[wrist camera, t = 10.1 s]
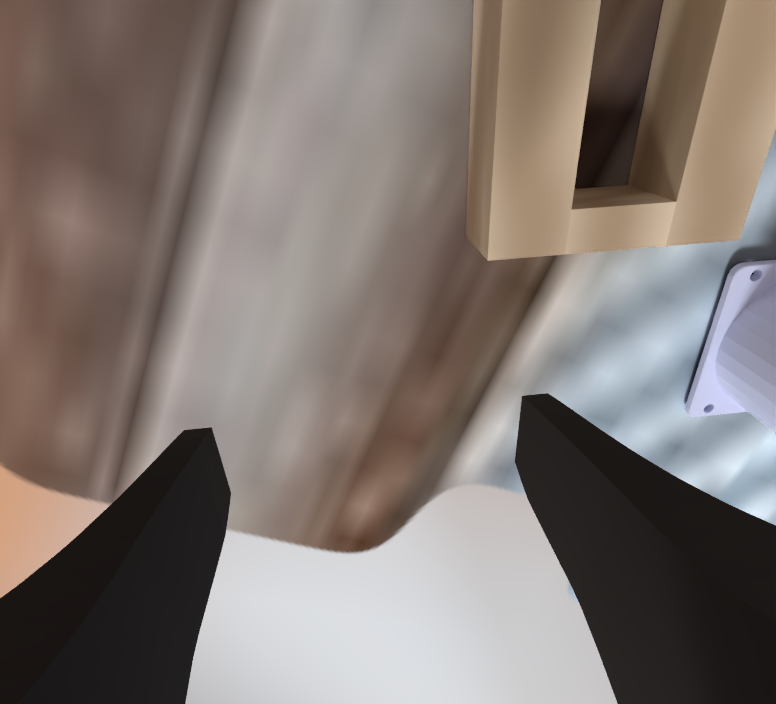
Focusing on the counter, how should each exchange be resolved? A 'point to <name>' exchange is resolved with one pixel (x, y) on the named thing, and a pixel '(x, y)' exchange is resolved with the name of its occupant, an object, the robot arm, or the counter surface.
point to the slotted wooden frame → (654, 139)
